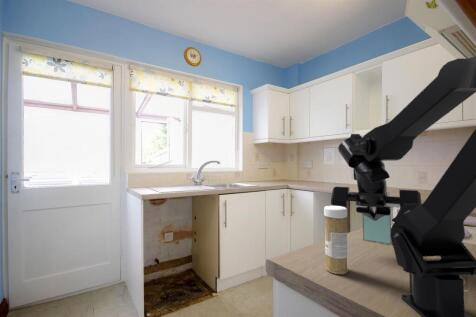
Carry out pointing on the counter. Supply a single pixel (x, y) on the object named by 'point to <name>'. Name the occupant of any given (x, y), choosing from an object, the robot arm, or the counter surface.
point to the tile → (377, 229)
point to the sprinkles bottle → (336, 239)
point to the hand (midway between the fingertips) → (374, 219)
